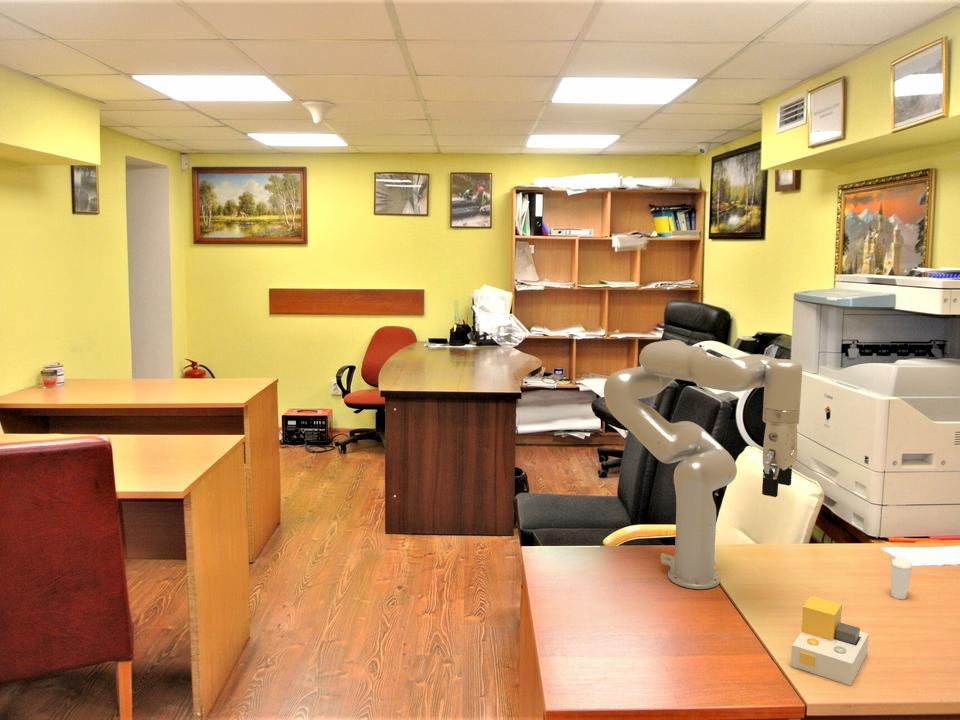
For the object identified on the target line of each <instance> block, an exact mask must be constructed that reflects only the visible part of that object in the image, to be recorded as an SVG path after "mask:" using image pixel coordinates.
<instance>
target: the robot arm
mask: <svg viewBox="0 0 960 720" xmlns="http://www.w3.org/2000/svg"><path fill="white" fill-rule="evenodd" d="M638 357H639V358H638V359H639V361H638V362H639V365H640V366H636V367H629V368H624V369H620V370H618V371H615V372H613V373H611V374H610V375H609V376H608V377H607V378H606V380H605V382H604V385H603V395H604V396H603V398H604V402H605V404H606V407H607V409H608V411H609V412H610V413H611V415H612V416H613V417H614V418H615V419H616V420H617V421H618V422H619V423H620V424H621V425H622V426H624V427H625V429H627V430H628V431H629V432H630V433H631V434H632V435H634V437H635V438H636V439H637V441H639V442H640V443H641V445H643V446H644V447H645V448H646V449H647V450H648V451H649V452H650V453H651V454H652V455H653V456H654V457H655V458H656V459H657V460H658V461H659V462H661V463H663V464H674V463H677V462H678V464H677V465H676V467H675V469H674V472H673V484H674V490H675V499H676V501H675V502H676V505H675V506H676V507H675V508H676V509H675V510H676V511H675V514H676V516H675V540H674V541H675V545H674V547H675V548H674V554H673V555H670V554H668V553H664V552H662V553H660V557H659V559H660V564H661V565H665V566H668V567H669V569H668V570H667V577H668V579H669V580H670V581H671V582H672V583H674V584H675V585H678V586H679V587H683V588H687V589H688V588H689V589H694V590H708V589H711V588H715V587H717V586H718V585H719V584H720V583H721V574H719V572H717V571H716V570H715V555H716V554H715V553H716V533H717V507H716V503H715V501H714V500H715V499H714V497H713V492H714V491H716V490H719V489H722V488H724V487H726V486H728V485H730V484H731V483H733V481H734V480H735V479H736V477H737V473H738V469H737V464H736V460H735V459H734V458H733V456H732V455H731V454H730V453H729V451H728V450H726V449H725V448H724V447H723V445H722V444H720V443H719V442H718V441H717V440H716V439H715V438H714V437H713V436H711V434H709V432H707V431H706V430H705V429H704V428H703V427H702V426H700V425H699V424H697V423H695V422H693V421H689V420H688V421H687V420H683V421H678V422H669V421H668V420H667V419H665V418H664V417H663V416H662V415H661V414H660V413H659V412H658V411H657V410H655V409H654V408H653V407H651V406H650V405H648V404H645V403H644V402H642V401H641V400H643V399H645V398H652V397H654V396H656V395H658V394H659V393H662V391H664V390H665V389H666V388H667V387H668V386H669V385H671V383H673V382H674V381H676V380H682V381H687V382H693V383H695V384H697V385H699V386H701V387H704V388H707V389H711V390H712V389H713V390H718V391H724V392H730V393H731V392H732V393H737V392H738V393H741V392H744V391H748V390H753V389H758V388H764V390H763V404H762V405H763V408H762V409H763V410H762V422H763V423H765V430H764V437H763V446H762V465H763V469H762V487H761V494H762V495H763V496H766V497H771V498H772V497H773V498H777V497H778V495H779V485H782V486H786V487H787V486H788V487H790V486H791V485H792V477H793V476H792V475H793V474H792V473H793V465H794V464H795V463H796V462H797V460H798V425H799V424H800V414H801V413H800V412H801V397H802V381H803V380H802V379H803V366H802V363H801V362H800V361H798V360H793V359H790V358H789V359H787V358H775V357H772V356H769V355H765V354H760V353H758V354H755V353H754V354H750V355H743V356H738V357H734V358H733V357H732V358H731V357H721V356H712V355H708V353H707V351H706V350H705V349H704V348H703V347H702V346H696V345H695V346H694V345H688V344H686V342H684V341H682V340H679V339H667V340H660V341H654V342H651V343H649V344H647V345H645V346H644V347H643V348H642V349H641V351H640V354H639V356H638Z"/></svg>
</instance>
